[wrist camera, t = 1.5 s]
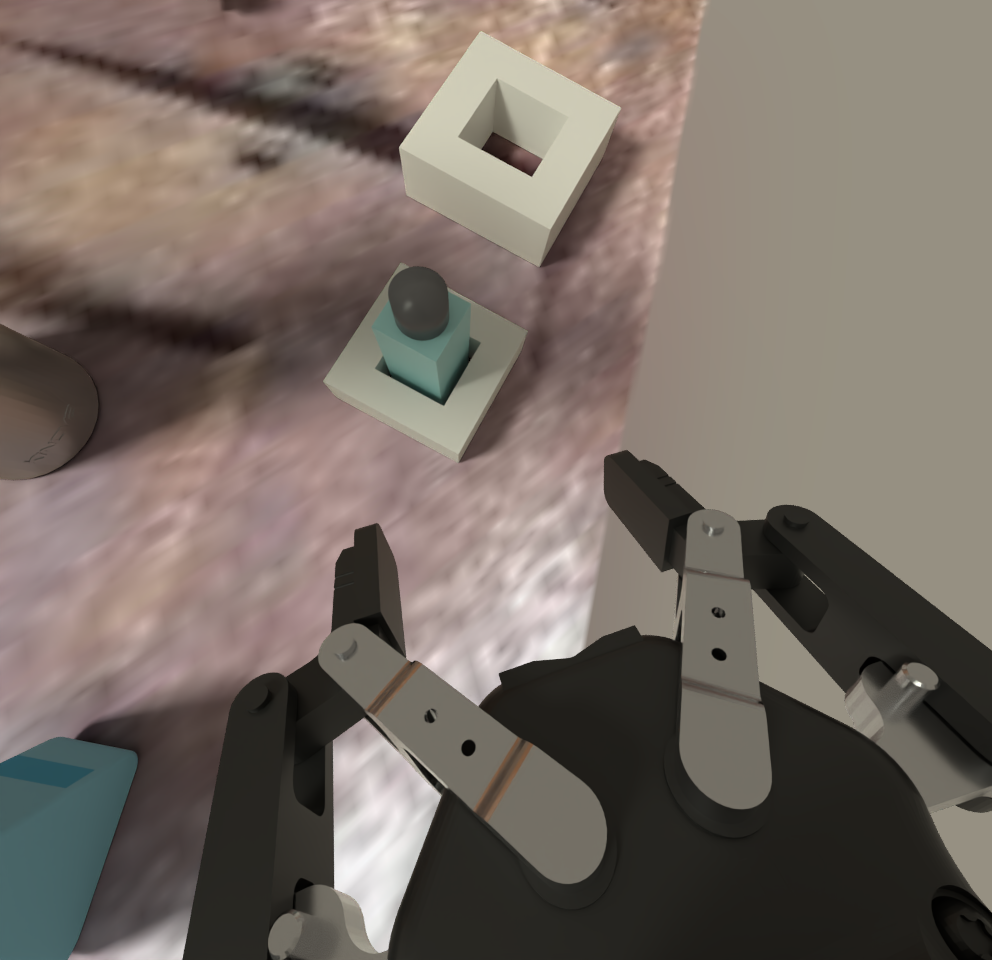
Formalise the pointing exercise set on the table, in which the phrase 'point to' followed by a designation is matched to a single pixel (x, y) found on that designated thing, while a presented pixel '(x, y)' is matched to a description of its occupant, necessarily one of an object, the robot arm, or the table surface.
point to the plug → (424, 333)
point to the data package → (56, 841)
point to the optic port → (525, 122)
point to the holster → (408, 411)
